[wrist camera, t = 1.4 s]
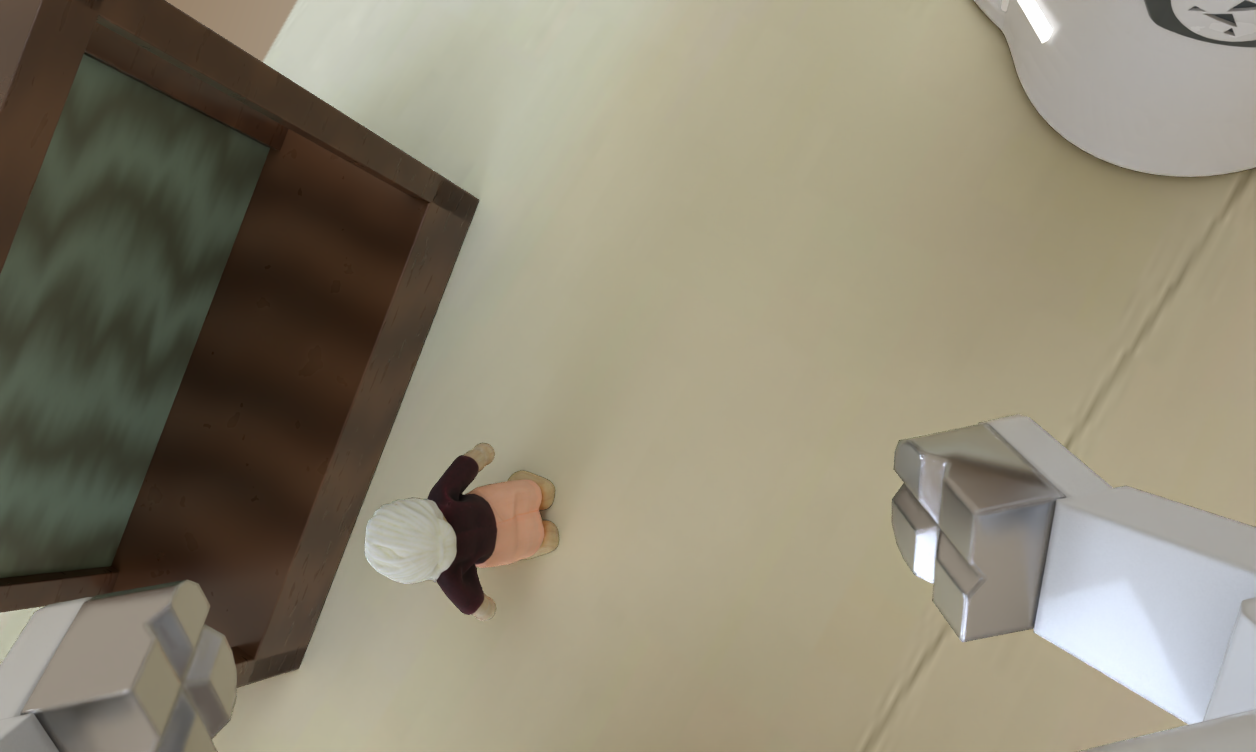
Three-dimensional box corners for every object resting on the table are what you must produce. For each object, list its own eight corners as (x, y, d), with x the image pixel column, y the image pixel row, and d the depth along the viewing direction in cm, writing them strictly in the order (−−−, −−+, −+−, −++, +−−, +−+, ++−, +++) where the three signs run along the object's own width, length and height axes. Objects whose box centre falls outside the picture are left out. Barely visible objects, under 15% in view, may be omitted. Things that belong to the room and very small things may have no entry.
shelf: (318, 146, 50) (-163, -121, 28) (479, 199, 46) (66, -64, 24) (154, 577, 50) (-453, 656, 28) (299, 669, 46) (-277, 847, 24)
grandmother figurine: (485, 462, 44) (324, 456, 32) (549, 442, 43) (407, 429, 31) (515, 608, 42) (359, 659, 31) (583, 592, 41) (447, 638, 29)
